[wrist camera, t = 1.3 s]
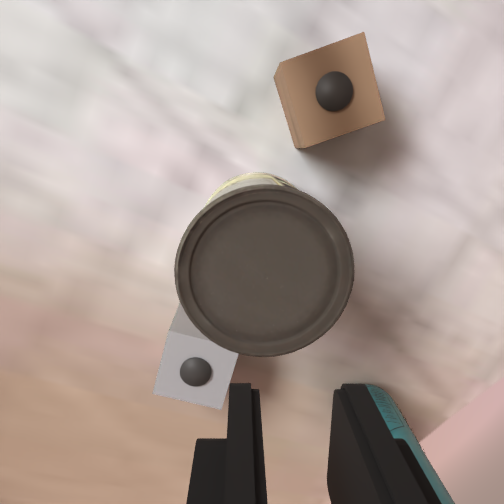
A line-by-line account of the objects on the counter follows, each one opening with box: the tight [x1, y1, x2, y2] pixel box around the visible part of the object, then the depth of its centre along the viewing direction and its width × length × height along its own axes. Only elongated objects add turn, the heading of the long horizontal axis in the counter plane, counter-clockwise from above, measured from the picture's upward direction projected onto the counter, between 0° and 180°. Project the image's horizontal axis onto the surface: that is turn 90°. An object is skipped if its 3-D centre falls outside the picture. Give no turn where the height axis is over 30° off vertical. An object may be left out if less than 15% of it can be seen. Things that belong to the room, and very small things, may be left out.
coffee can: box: [174, 173, 354, 357], centre depth 30 cm, size 10×10×14 cm
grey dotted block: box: [152, 303, 238, 410], centre depth 36 cm, size 6×6×6 cm
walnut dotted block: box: [274, 32, 385, 148], centre depth 31 cm, size 6×6×6 cm
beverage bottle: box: [365, 384, 455, 504], centre depth 32 cm, size 6×7×20 cm
